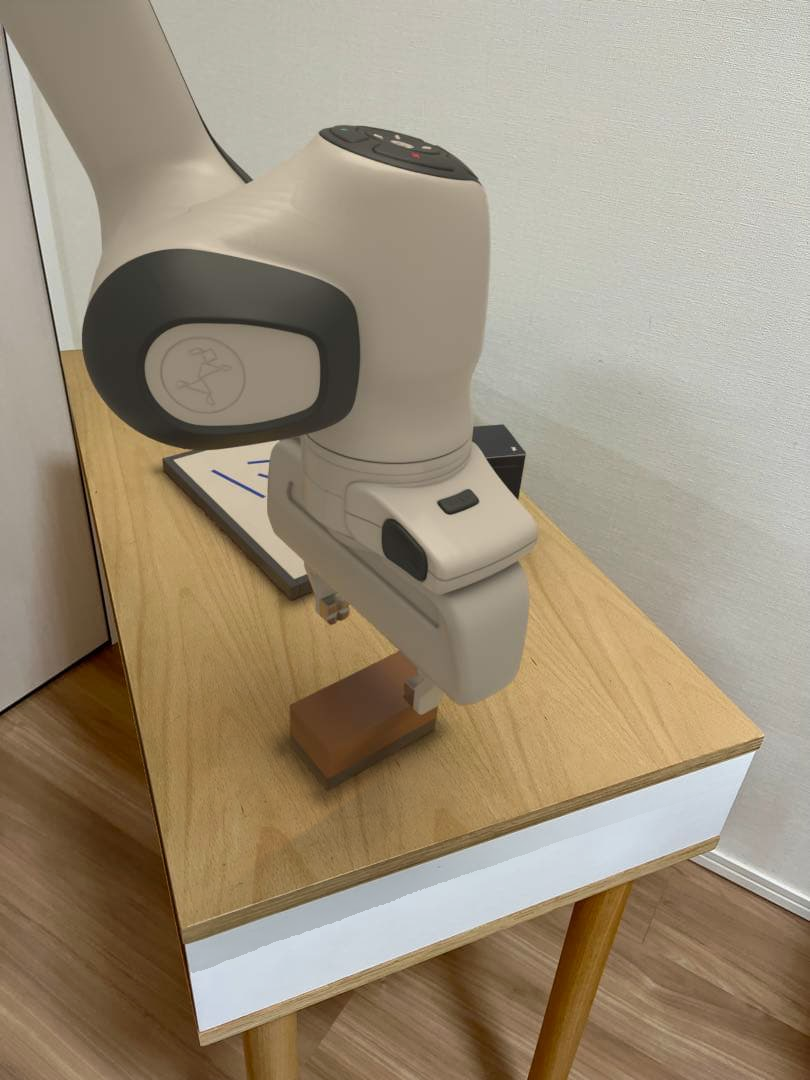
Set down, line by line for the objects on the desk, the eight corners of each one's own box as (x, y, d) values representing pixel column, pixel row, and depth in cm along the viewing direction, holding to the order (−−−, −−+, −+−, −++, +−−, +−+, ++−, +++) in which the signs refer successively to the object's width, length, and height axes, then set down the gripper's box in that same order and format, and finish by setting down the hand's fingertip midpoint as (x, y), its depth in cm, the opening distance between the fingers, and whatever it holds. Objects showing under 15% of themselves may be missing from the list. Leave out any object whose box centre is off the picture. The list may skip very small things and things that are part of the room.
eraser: (327, 791, 52) (328, 750, 50) (289, 745, 55) (289, 704, 53) (435, 729, 57) (440, 689, 55) (395, 690, 60) (399, 650, 57)
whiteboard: (291, 600, 67) (291, 586, 66) (163, 470, 82) (161, 457, 81) (414, 549, 74) (415, 536, 73) (276, 437, 89) (276, 426, 88)
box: (489, 520, 79) (505, 422, 72) (510, 555, 74) (528, 454, 68) (410, 527, 77) (420, 427, 70) (427, 564, 72) (439, 460, 66)
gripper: (235, 406, 48) (248, 588, 56) (465, 590, 36) (439, 790, 44) (325, 382, 51) (324, 557, 60) (564, 543, 39) (522, 736, 47)
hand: (374, 657), depth 51 cm, fingers open, 8 cm apart
